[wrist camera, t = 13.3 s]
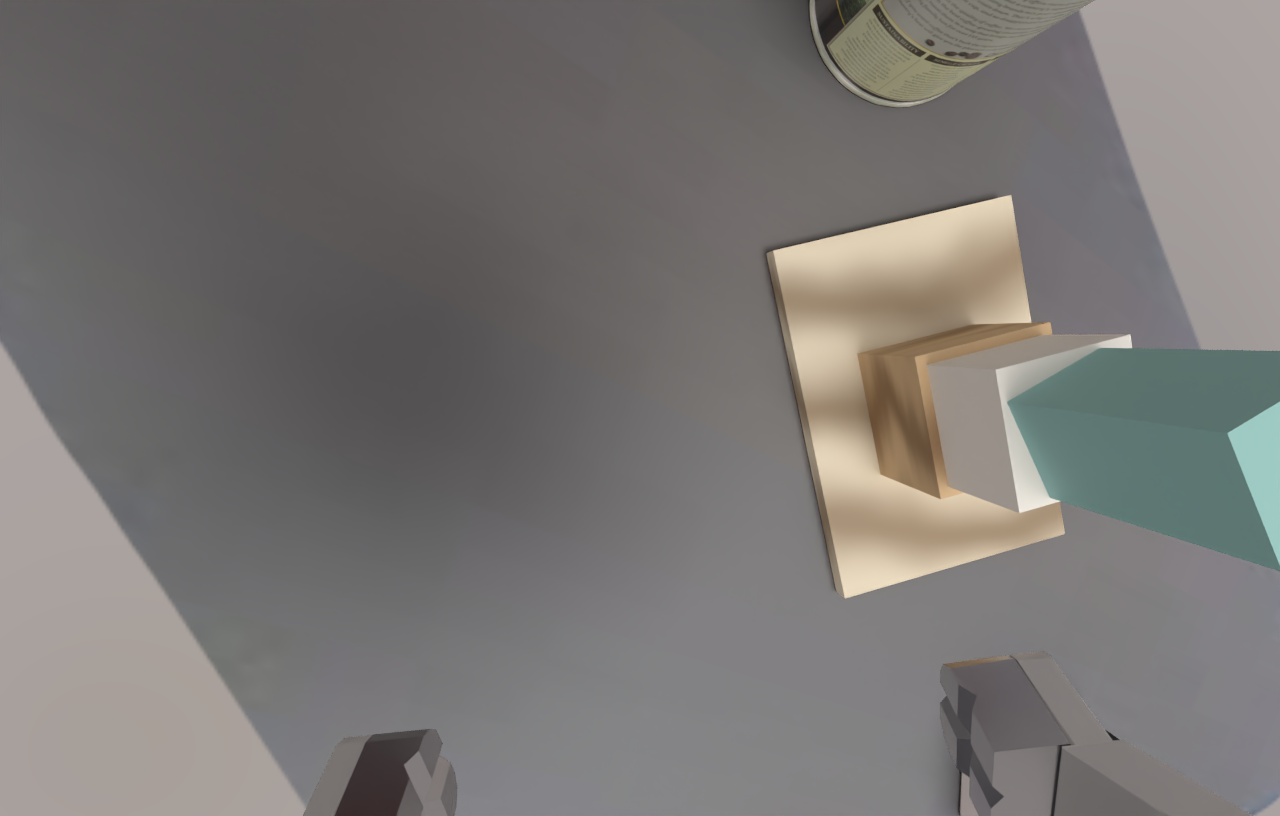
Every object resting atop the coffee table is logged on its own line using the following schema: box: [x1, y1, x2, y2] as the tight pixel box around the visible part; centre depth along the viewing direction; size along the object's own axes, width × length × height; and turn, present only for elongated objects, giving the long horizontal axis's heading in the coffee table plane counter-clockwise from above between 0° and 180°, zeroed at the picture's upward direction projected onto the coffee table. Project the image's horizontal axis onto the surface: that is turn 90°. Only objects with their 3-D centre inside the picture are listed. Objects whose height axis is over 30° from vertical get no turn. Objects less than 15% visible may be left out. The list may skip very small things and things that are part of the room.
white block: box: [927, 334, 1132, 513], centre depth 30 cm, size 6×6×5 cm
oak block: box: [857, 322, 1052, 499], centre depth 36 cm, size 7×7×6 cm
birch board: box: [766, 195, 1065, 598], centre depth 39 cm, size 20×14×1 cm
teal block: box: [1007, 348, 1280, 571], centre depth 23 cm, size 4×4×9 cm
